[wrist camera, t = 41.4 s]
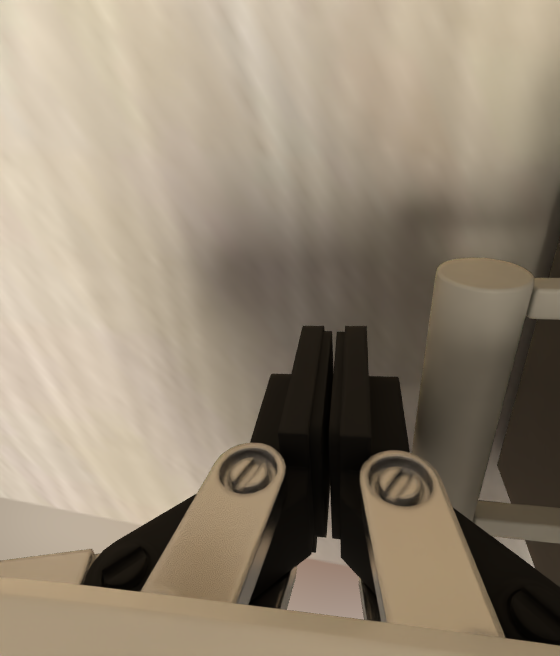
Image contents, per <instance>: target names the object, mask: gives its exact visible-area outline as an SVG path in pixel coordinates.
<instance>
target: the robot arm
mask: <svg viewBox="0 0 560 656" xmlns="http://www.w3.org/2000/svg"><path fill="white" fill-rule="evenodd" d="M330 491H331V517H332V538H334V539H341V558H342V559H343V560H344V561H345V562H346V563H347V564H348V566H349V567H350V568H351V569H352V570H353V571H354V572H355V573H356V574H357V575H358V576H359V589H360V596H361V602H362V609H363V615H364V620H361V619H354V618H346V617H338V616H330V615H322V614H314V613H307V612H299V611H291V610H287V606H288V603H289V599H290V596H291V592H292V588H293V585H294V582H295V578H296V570H297V565H298V564H299V563H300V562H302V561H303V560H304V559H306V558H307V557H308V556H310V555H311V553H312V552H315V553H316V546H317V537H326V535H327V522H328V508H329V494H330ZM0 656H560V587H559V586H558V585H556V584H555V583H554V582H552V581H551V580H550V579H548V578H547V577H546V576H544V575H543V574H542V573H540V572H539V571H538V570H536V569H535V568H534V567H532V566H531V565H530V564H528V563H527V562H526V561H524V560H523V559H522V558H520V557H519V556H518V555H516V554H515V553H514V552H512V551H511V550H510V549H508V548H507V547H505V546H504V545H503V544H501V543H500V542H499V541H497V540H496V539H495V538H493V537H492V536H491V535H489V534H488V533H487V532H485V531H484V530H483V529H481V528H480V527H479V526H477V525H476V524H475V523H473V522H472V521H471V520H469V519H468V518H467V517H465V516H464V515H463V514H461V513H460V512H459V511H457V510H456V509H455V508H453V507H452V505H451V502H450V500H449V497H448V495H447V492H446V490H445V487H444V485H443V483H442V480H441V478H440V476H439V474H438V473H437V471H436V470H435V468H434V467H433V466H432V465H431V464H430V463H428V462H427V461H426V460H425V459H423V458H421V457H419V456H417V455H415V454H412V453H410V451H409V444H408V437H407V430H406V423H405V417H404V410H403V403H402V396H401V389H400V382H399V378H398V377H383V376H369V371H368V347H367V326H345V332H337V336H336V348H335V361H334V373H333V342H332V331H324V326H303V327H302V331H301V335H300V339H299V344H298V348H297V352H296V356H295V361H294V365H293V369H292V374H272V375H271V376H270V379H269V382H268V385H267V389H266V392H265V395H264V398H263V402H262V405H261V408H260V412H259V415H258V418H257V421H256V425H255V428H254V431H253V435H252V438H251V441H250V443H245V444H240V445H237V446H235V447H233V448H230V449H229V450H227V451H226V452H225V453H223V454H222V455H221V456H220V457H219V458H218V459H217V461H216V462H215V463H214V465H213V467H212V469H211V470H210V472H209V474H208V475H207V477H206V479H205V481H204V482H203V484H202V486H201V488H200V489H199V491H198V493H197V494H195V495H194V496H192V497H190V498H188V499H187V500H185V501H183V502H182V503H180V504H178V505H177V506H175V507H173V508H172V509H170V510H168V511H166V512H165V513H163V514H161V515H160V516H158V517H156V518H155V519H153V520H151V521H149V522H148V523H146V524H144V525H143V526H141V527H139V528H138V529H136V530H134V531H133V532H131V533H129V534H127V535H126V536H124V537H122V538H121V539H119V540H117V541H116V542H114V543H113V544H112V545H110V546H109V547H107V548H106V549H105V550H103V552H102V553H100V554H94V552H93V550H92V549H86V550H78V551H70V552H62V553H55V554H47V555H39V556H31V557H24V558H16V559H9V560H0Z"/></svg>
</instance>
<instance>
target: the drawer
mask: <svg viewBox="0 0 560 656" xmlns="http://www.w3.org/2000/svg"><path fill="white" fill-rule="evenodd" d="M526 315H527V316H528V318H531V319H537V322H536V325H535V329H534V333H533V336H532V340H531V344H530V347H529V351H528V355H527V358H526V362H525V365H524V369H523V373H522V376H521V380H520V384H519V387H518V391H517V395H516V398H515V402H514V405H513V409H512V413H511V416H510V420H509V424H508V427H507V431H506V435H505V438H504V442H503V445H502V449H501V453H500V456H499V460H498V464H497V466H498V469H499V471H500V474H501V477H502V479H503V482H504V485H505V488H506V490H507V493H508V496H509V498H510V501H511V503H501V502H490V501H480V500H478V498H479V495H480V491H481V487H482V483H483V479H484V475H485V471H486V468H487V464H488V460H489V456H490V452H491V448H492V444H493V441H494V437H495V433H496V429H497V425H498V421H499V417H500V414H501V410H502V406H503V402H504V398H505V394H506V390H507V386H508V383H509V379H510V375H511V371H512V367H513V363H514V359H515V356H516V352H517V348H518V344H519V340H520V336H521V332H522V329H523V325H524V321H525V317H526ZM412 454H415V455H417V456H419V457H421V458H423V459H425V460H426V461H427V462H428V463H430V464H431V465H432V466H433V467H434V468H435V470H436V471H437V473H438V474H439V476H440V478H441V480H442V483H443V485H444V487H445V490H446V492H447V495H448V497H449V500H450V502H451V505H452V507H453V508H455V509H456V510H457V511H459V512H460V513H461V514H463V515H464V516H465V517H467V518H468V519H469V520H471V521H472V522H473V523H475V524H476V525H477V526H479V527H480V528H481V529H483V530H484V531H485V532H487V533H488V534H489V535H491V536H494V537H503V538H512V539H522V540H525V542H526V544H527V547H528V550H529V552H530V555H531V558H532V561H533V563H534V566H535V569H536V570H538V571H539V572H540V573H542V574H543V575H544V576H546V577H547V578H548V579H550V580H551V581H552V582H554V583H555V584H556V585H558V586H559V587H560V238H559V242H558V245H557V249H556V253H555V256H554V260H553V264H552V267H551V271H550V274H549V278H534V277H533V275H532V273H531V272H529V271H528V270H527V269H525V268H523V267H521V266H518V265H516V264H513V263H510V262H506V261H502V260H496V259H489V258H459V259H453V260H449V261H446V262H444V263H442V264H440V265H439V267H438V268H437V270H436V275H435V282H434V290H433V297H432V305H431V312H430V319H429V327H428V334H427V342H426V349H425V356H424V364H423V371H422V379H421V386H420V394H419V401H418V408H417V416H416V423H415V431H414V438H413V445H412Z"/></svg>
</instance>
